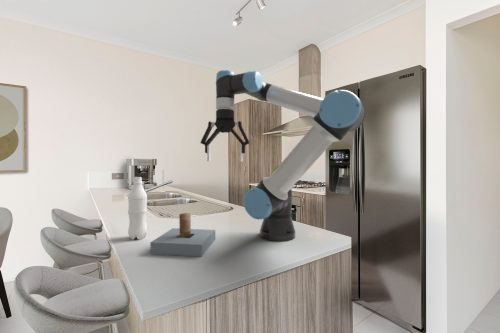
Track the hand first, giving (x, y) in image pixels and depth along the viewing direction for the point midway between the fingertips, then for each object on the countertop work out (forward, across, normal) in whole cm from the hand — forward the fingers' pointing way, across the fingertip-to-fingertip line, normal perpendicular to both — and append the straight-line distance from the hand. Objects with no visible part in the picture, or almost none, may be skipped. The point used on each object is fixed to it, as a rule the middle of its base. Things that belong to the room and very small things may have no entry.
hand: (224, 161), depth 105 cm
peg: (+32, +12, +13) cm, 36 cm away
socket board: (+32, +12, +13) cm, 36 cm away
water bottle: (+32, +35, +6) cm, 48 cm away
